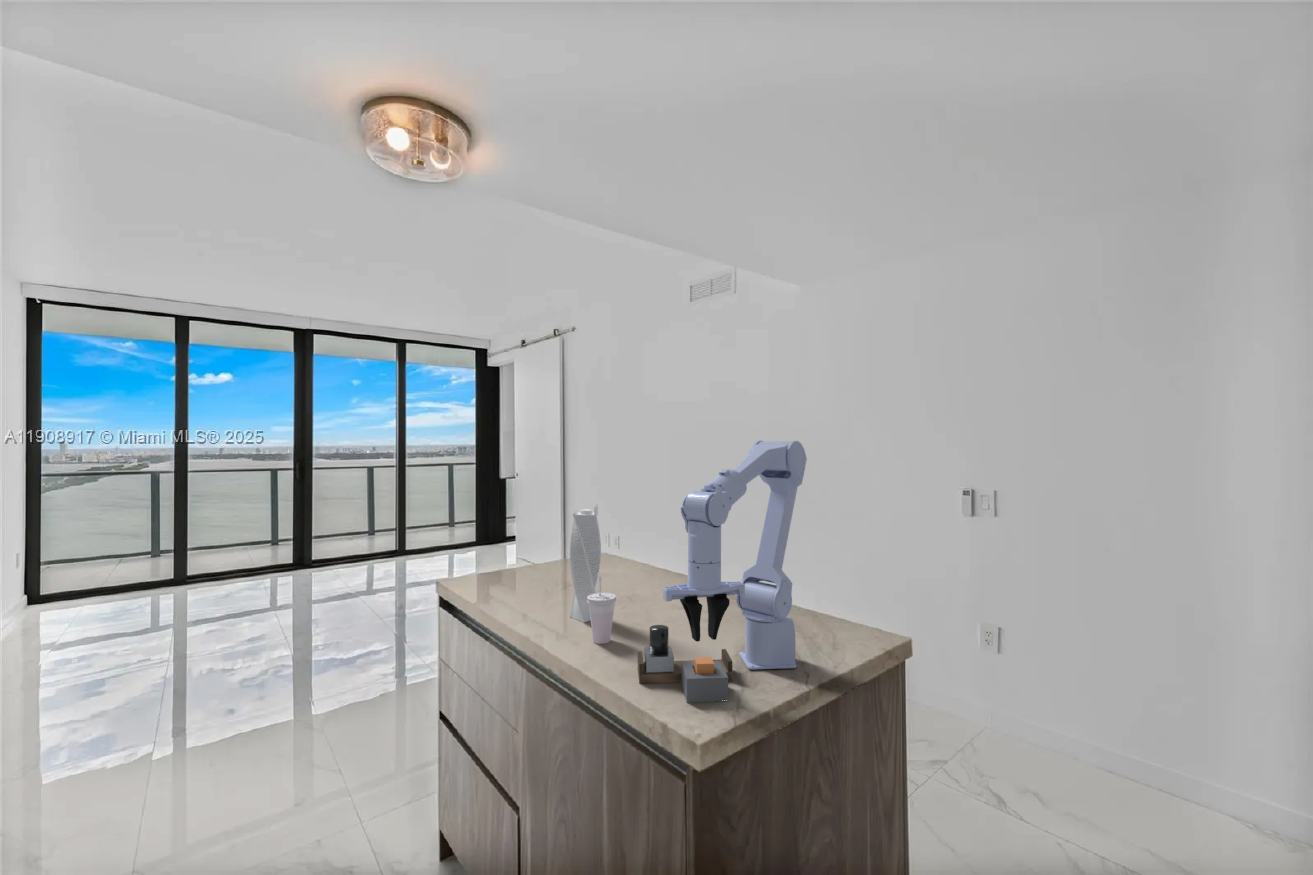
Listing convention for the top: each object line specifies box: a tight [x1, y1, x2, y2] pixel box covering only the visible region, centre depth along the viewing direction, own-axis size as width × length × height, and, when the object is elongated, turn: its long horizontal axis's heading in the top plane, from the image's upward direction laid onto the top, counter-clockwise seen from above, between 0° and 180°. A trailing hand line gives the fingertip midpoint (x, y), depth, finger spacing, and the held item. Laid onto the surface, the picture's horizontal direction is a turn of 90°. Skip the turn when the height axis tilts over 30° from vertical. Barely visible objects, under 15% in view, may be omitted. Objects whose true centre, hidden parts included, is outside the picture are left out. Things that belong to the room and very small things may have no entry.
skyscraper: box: [569, 503, 602, 623], centre depth 140 cm, size 8×8×28 cm
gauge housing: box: [680, 661, 729, 704], centre depth 99 cm, size 7×7×4 cm
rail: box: [637, 648, 733, 684], centre depth 106 cm, size 17×6×4 cm, turn 95°
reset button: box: [693, 656, 714, 674], centre depth 99 cm, size 3×3×4 cm
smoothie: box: [587, 575, 617, 645], centre depth 124 cm, size 6×6×14 cm
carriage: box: [644, 624, 675, 673], centre depth 106 cm, size 5×5×7 cm
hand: (704, 638), depth 99 cm, fingers open, 2 cm apart
